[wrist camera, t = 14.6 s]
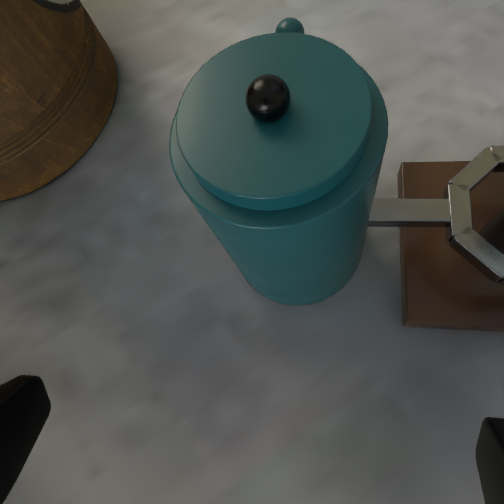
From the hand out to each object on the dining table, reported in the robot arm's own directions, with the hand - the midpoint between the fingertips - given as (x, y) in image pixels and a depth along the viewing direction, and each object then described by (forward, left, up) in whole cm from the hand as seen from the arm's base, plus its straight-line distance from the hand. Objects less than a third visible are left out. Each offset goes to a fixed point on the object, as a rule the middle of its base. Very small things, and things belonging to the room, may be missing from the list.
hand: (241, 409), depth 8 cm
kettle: (+2, -10, -11) cm, 15 cm away
